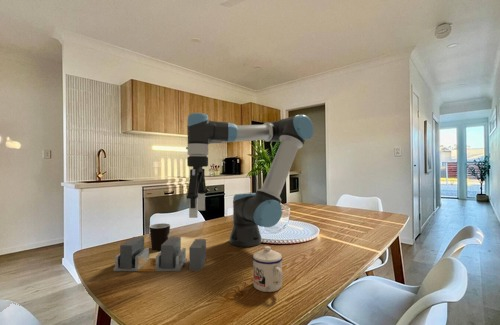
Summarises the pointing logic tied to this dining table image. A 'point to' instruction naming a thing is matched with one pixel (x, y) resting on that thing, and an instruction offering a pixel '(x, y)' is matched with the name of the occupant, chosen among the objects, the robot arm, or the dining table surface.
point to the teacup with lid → (267, 270)
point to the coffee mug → (159, 235)
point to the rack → (138, 258)
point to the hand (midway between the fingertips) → (197, 213)
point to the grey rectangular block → (197, 255)
